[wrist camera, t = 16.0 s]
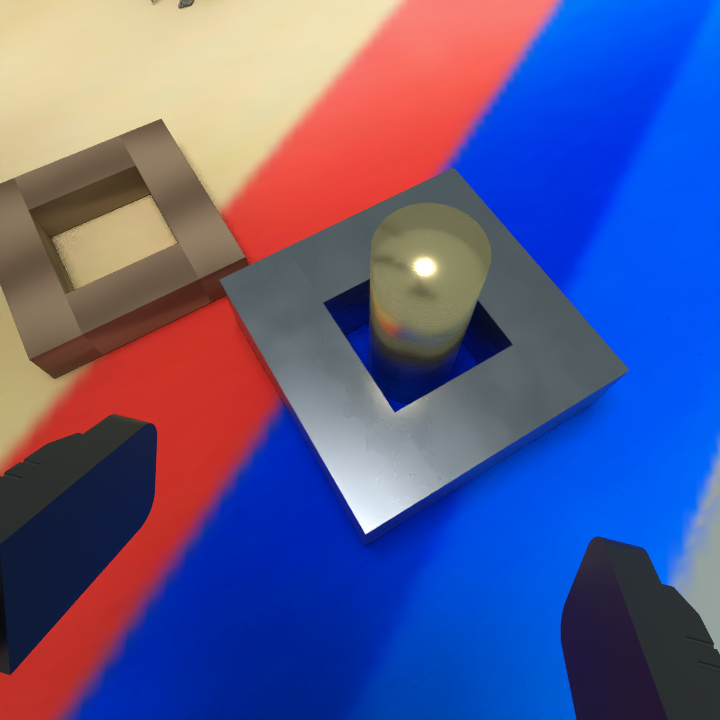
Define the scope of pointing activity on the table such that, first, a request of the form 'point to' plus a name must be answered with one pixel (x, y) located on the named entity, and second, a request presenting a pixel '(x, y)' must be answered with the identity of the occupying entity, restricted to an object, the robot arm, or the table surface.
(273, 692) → the table surface
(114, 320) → the walnut stand
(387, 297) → the brass peg
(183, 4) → the wizard figurine
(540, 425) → the charcoal block
